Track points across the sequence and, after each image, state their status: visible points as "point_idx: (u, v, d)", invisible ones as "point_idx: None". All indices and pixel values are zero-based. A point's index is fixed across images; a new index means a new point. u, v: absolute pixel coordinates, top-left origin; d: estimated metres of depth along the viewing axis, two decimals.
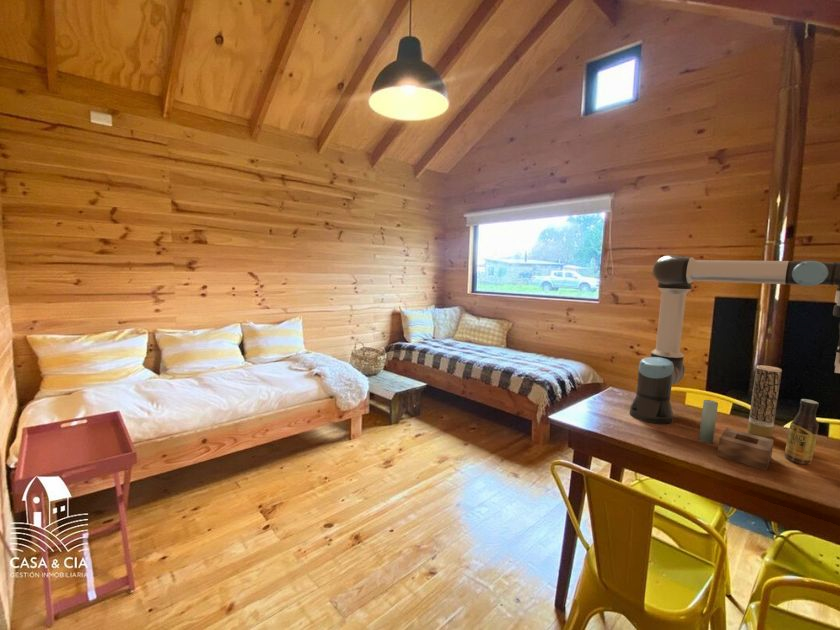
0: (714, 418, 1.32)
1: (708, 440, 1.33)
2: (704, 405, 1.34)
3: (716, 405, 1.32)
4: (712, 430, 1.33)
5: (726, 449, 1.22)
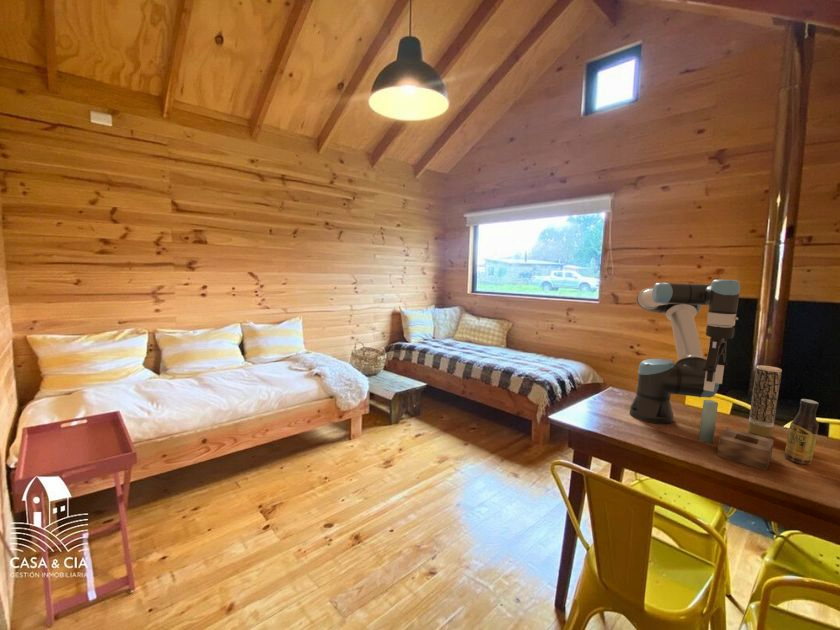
0: (714, 418, 1.32)
1: (708, 440, 1.33)
2: (704, 405, 1.34)
3: (716, 405, 1.32)
4: (712, 430, 1.33)
5: (726, 449, 1.22)
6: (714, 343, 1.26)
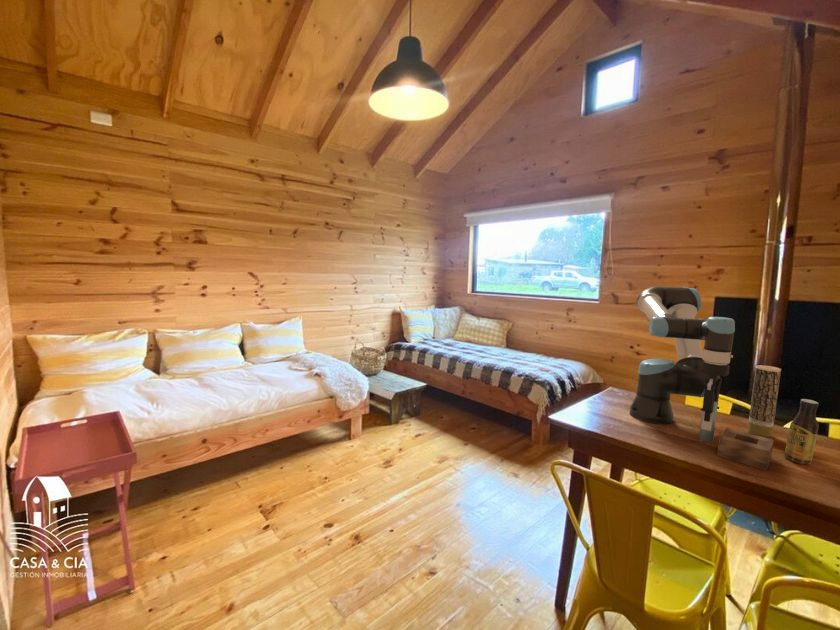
0: (714, 418, 1.32)
1: (708, 440, 1.33)
2: None
3: (716, 405, 1.32)
4: (712, 430, 1.33)
5: (726, 449, 1.22)
6: (709, 386, 1.28)
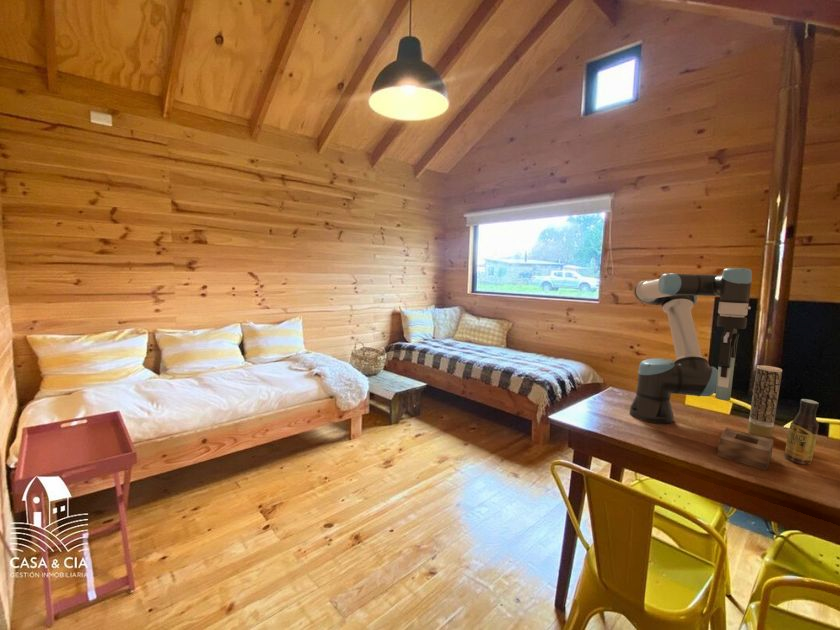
0: (731, 374, 1.26)
1: (725, 397, 1.27)
2: None
3: (733, 360, 1.26)
4: (729, 387, 1.27)
5: (726, 449, 1.22)
6: (725, 339, 1.23)
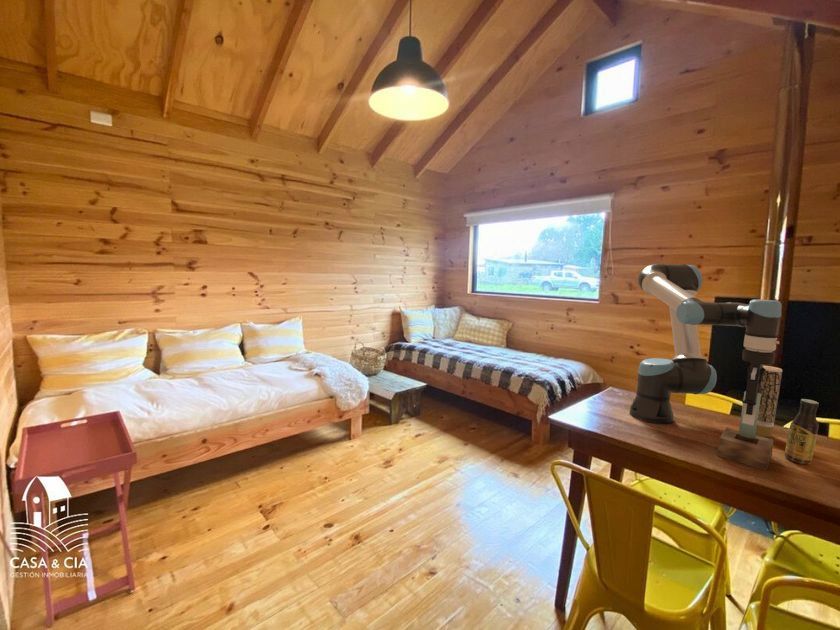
0: (757, 411, 1.20)
1: (750, 435, 1.21)
2: None
3: (759, 396, 1.19)
4: (754, 424, 1.20)
5: (726, 449, 1.22)
6: (753, 376, 1.16)
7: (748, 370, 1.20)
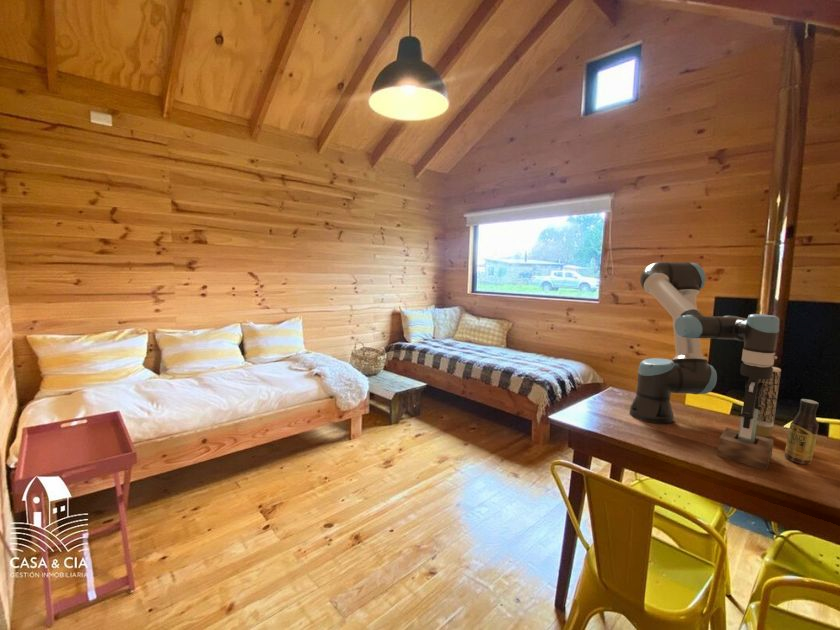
0: (754, 426, 1.21)
1: None
2: None
3: (756, 412, 1.20)
4: (752, 440, 1.21)
5: (726, 449, 1.22)
6: (751, 387, 1.16)
7: (746, 384, 1.21)
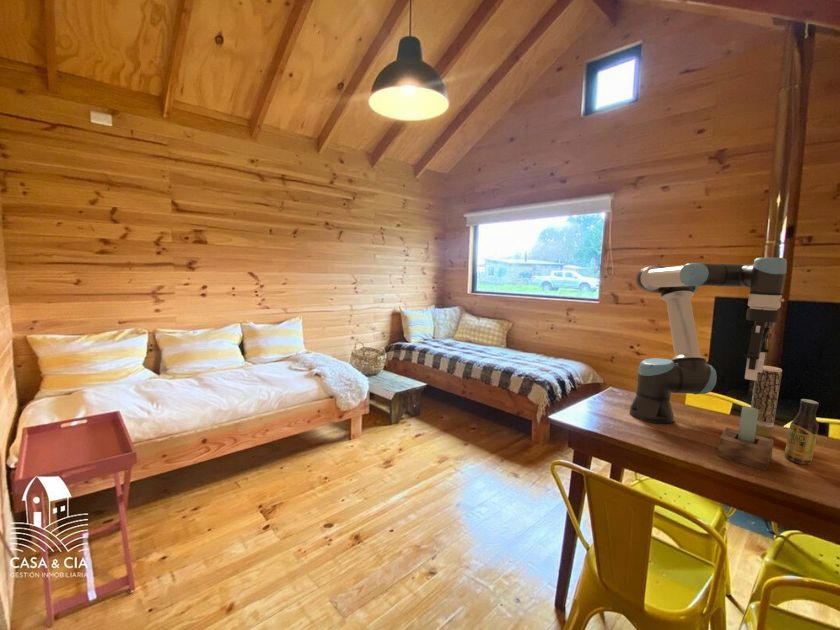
0: (754, 427, 1.21)
1: None
2: (743, 412, 1.22)
3: (757, 412, 1.20)
4: (752, 440, 1.21)
5: (726, 449, 1.22)
6: (758, 327, 1.14)
7: (752, 328, 1.19)
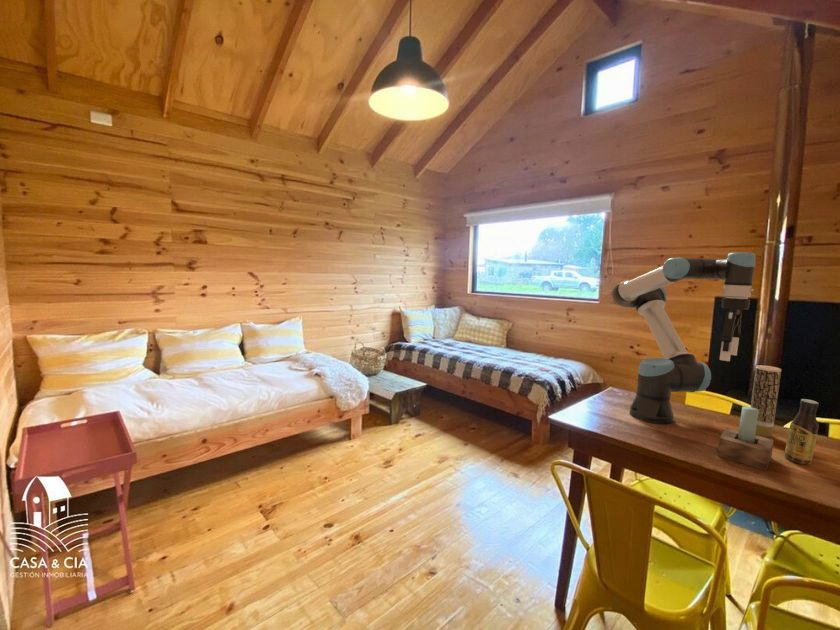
0: (754, 427, 1.21)
1: None
2: (743, 412, 1.22)
3: (757, 412, 1.20)
4: (752, 440, 1.21)
5: (726, 449, 1.22)
6: (731, 314, 1.29)
7: None
